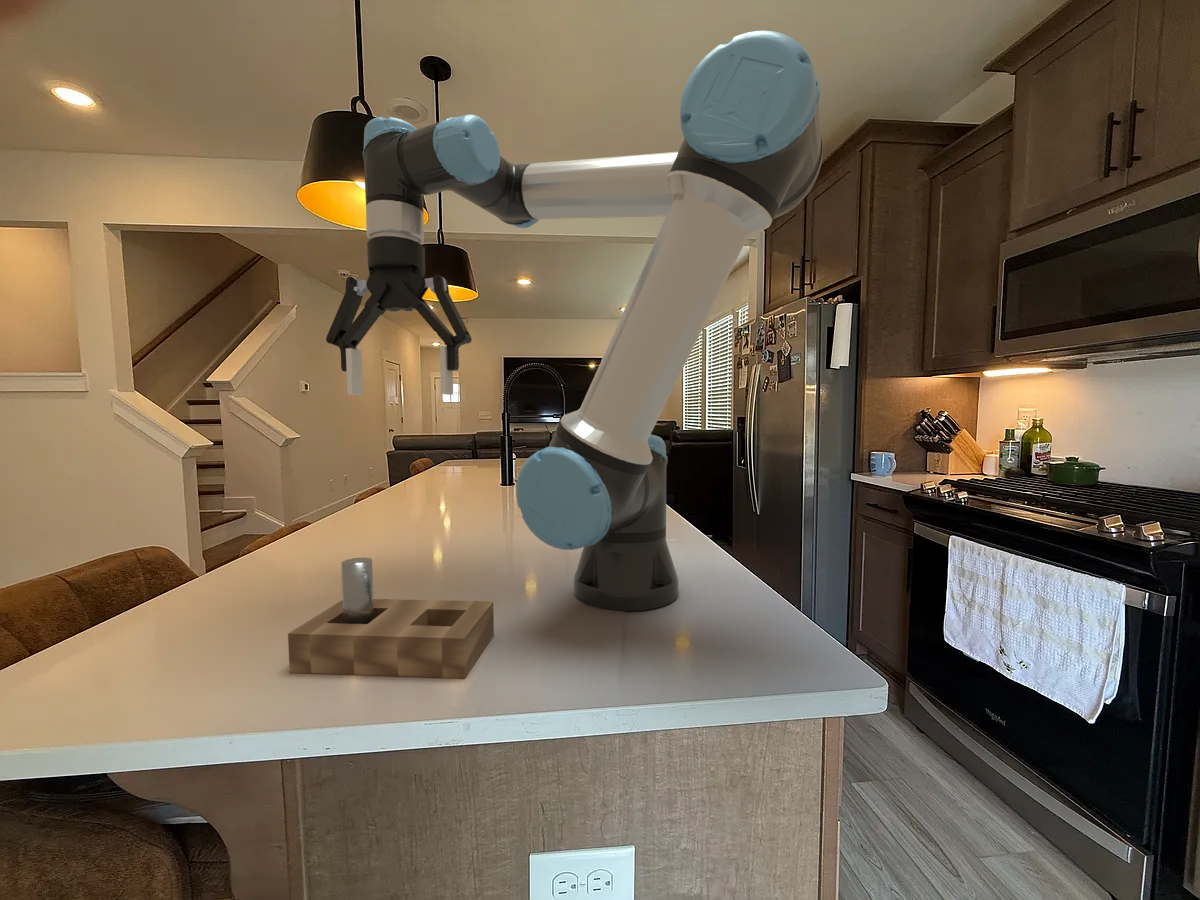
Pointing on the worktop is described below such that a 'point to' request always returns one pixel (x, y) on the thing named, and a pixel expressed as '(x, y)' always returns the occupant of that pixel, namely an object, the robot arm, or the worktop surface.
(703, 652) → the worktop surface
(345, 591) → the peg
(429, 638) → the socket block
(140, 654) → the worktop surface
